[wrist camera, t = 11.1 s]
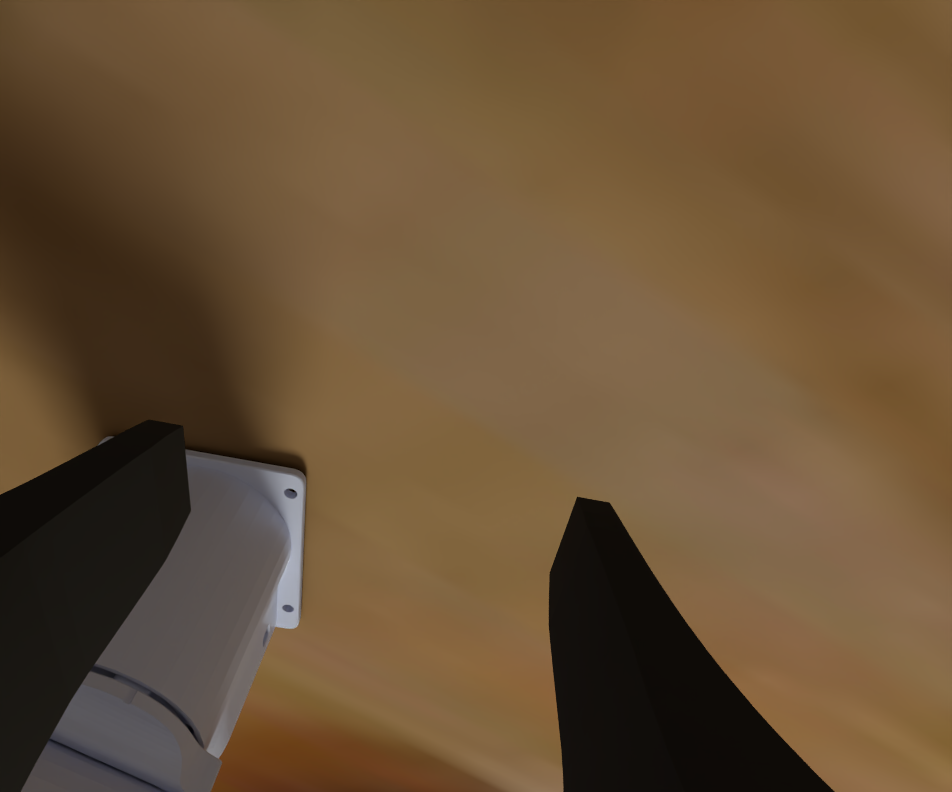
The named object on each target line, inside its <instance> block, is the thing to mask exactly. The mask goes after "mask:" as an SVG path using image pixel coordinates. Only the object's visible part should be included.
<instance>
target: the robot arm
mask: <svg viewBox="0 0 952 792" xmlns="http://www.w3.org/2000/svg"><path fill="white" fill-rule="evenodd" d="M289 489H293V490H295V491H296V492H292V491H290V490H289ZM305 500H306V477H305V475H304V474H303V473H302V472H301V471H299V470H297V469H293V468H288V467H282V466H276V465H271V464H265V463H260V462H254V461H248V460H243V459H237V458H232V457H226V456H220V455H215V454H209V453H203V452H198V451H192V450H187V449H185V441H184V431H183V426H181V425H176V424H170V423H165V422H159V421H153V420H147V421H145V422H143V423H141V424H138V425H136V426H134V427H132V428H130V429H128V430H126V431H124V432H122V433H120V434H119V435H117V436H115V437H114V436H108V437H105V438H104V439H103V440H102V441H101V442H100V443H99V444H98V446H96V447H94V448H92V449H90V450H88V451H86V452H84V453H82V454H81V455H79V456H77V457H75V458H73V459H71V460H69V461H67V462H65V463H63V464H61V465H59V466H57V467H55V468H53V469H52V470H50V471H48V472H46V473H44V474H42V475H40V476H38V477H36V478H34V479H32V480H30V481H28V482H26V483H24V484H22V485H20V486H18V487H16V488H14V489H12V490H9V491H7V492H5V493H3V494H1V495H0V792H211V789H212V787H213V784H214V782H215V779H216V777H217V774H218V772H219V769H220V767H221V764H222V762H221V760H220V759H219V757H220V756H221V754H222V752H223V751H224V749H225V747H226V745H227V743H228V741H229V739H230V737H231V734H232V732H233V729H234V727H235V724H236V722H237V719H238V717H239V714H240V712H241V710H242V707H243V705H244V702H245V700H246V697H247V695H248V692H249V690H250V687H251V685H252V683H253V680H254V678H255V675H256V673H257V670H258V668H259V665H260V663H261V660H262V658H263V656H264V653H265V651H266V648H267V646H268V643H269V641H270V638H271V636H272V633H273V631H274V629H275V627H281V628H287V629H292V628H296V627H297V626H298V624H299V621H300V618H301V598H302V574H303V549H304V525H305ZM549 633H550V643H551V653H552V663H553V673H554V683H555V692H556V702H557V711H558V721H559V730H560V740H561V749H562V765H563V785H564V792H834V791H833V790H832V789H831V788H830V787H829V786H828V785H827V784H826V783H825V782H824V781H823V780H822V779H821V778H820V777H819V776H818V775H817V774H816V773H815V772H814V771H813V770H812V769H811V768H810V767H809V766H808V765H807V764H806V763H805V762H804V761H803V760H802V759H801V757H800V756H799V755H798V754H797V753H796V752H795V751H794V750H793V749H792V748H791V747H790V746H789V745H788V744H787V743H786V742H785V741H784V740H783V739H782V738H781V737H780V736H779V735H778V733H777V732H776V731H775V730H774V729H773V728H772V727H771V726H770V725H769V724H768V723H767V721H766V720H765V719H764V718H763V717H762V716H761V715H760V714H759V713H758V711H757V710H756V709H755V708H754V707H753V706H752V704H751V703H750V702H749V701H748V700H747V699H746V697H745V696H744V695H743V694H742V693H741V692H740V690H739V689H738V688H737V687H736V686H735V684H734V683H733V682H732V681H731V680H730V679H729V677H728V676H727V675H726V674H725V673H724V671H723V670H722V669H721V668H720V666H719V665H718V664H717V663H716V661H715V660H714V659H713V658H712V656H711V655H710V654H709V652H708V651H707V650H706V648H705V647H704V646H703V644H702V643H701V642H700V640H699V639H698V638H697V636H696V635H695V634H694V632H693V631H692V630H691V628H690V627H689V626H688V624H687V623H686V621H685V620H684V619H683V617H682V616H681V614H680V613H679V611H678V610H677V609H676V607H675V606H674V604H673V603H672V601H671V600H670V598H669V597H668V595H667V594H666V592H665V591H664V589H663V588H662V586H661V585H660V583H659V582H658V580H657V579H656V577H655V575H654V574H653V572H652V571H651V569H650V568H649V566H648V564H647V563H646V561H645V560H644V558H643V556H642V555H641V553H640V552H639V550H638V548H637V547H636V545H635V543H634V542H633V540H632V538H631V537H630V535H629V533H628V532H627V530H626V529H625V527H624V525H623V524H622V522H621V520H620V519H619V517H618V515H617V514H616V512H615V510H614V509H613V507H612V506H611V504H610V503H609V502H603V501H597V500H592V499H586V498H581V497H577V499H576V502H575V504H574V507H573V510H572V513H571V516H570V518H569V521H568V524H567V527H566V529H565V532H564V535H563V538H562V540H561V543H560V546H559V549H558V552H557V554H556V557H555V560H554V563H553V565H552V568H551V571H550V582H549Z"/></svg>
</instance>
